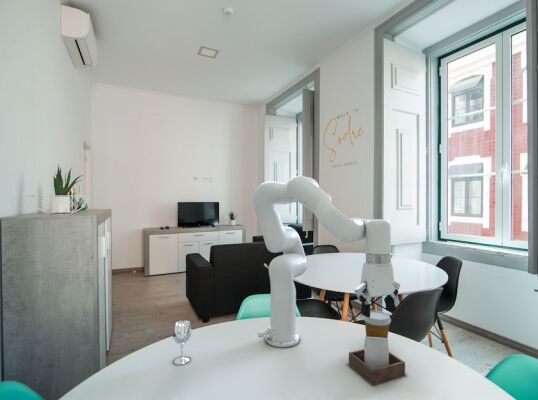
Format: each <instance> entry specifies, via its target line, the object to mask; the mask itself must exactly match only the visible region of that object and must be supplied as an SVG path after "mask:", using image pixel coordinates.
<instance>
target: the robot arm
mask: <svg viewBox="0 0 538 400" xmlns="http://www.w3.org/2000/svg"><path fill="white" fill-rule="evenodd" d="M293 203H299V204H301V205H302V206H303V207H305V208H306V209H307V210H308V211H310V212H311V213H312V214H313V215H314V216H315V217H316V219H317V221H318V222H319V223H320V225H321V226H322V227H323V228H324V229H325V230H326V231H327V232H329V233H331V235H333V236H334V237H335V238H337V239H338V240H339V241H342V242H344V243H355V242H358V241H363V240H365V262H363V264H362V269H361V276H360V285H358V286H357V287H356V288H355V289H354V293H355V295H356V298H357V299H358V300H359V302H360V303H361V316H366V317H368V318H369V317H370V311H371V304H370V302H371V300H372V299H373V298H377V297H384V296H386V297H385V310H386V311H387V312H389V313H392V314H394V313H395V300H396V299H397V295H398V294H399V290H400V288H401V284H400V283H399V282H397V281H396V280H395V275H394V267H393V263H392V261H391V260H392V258H393V254H392V250H391V249H392V248H391V247H392V224H391V222H390V220H388V219H384V218H370V219H369V218H363V217H348V216H347V215H345V214H344V213H343V212H341V211H340V209H338V208H337V207H335V205H333V203H332V196H331V195H330V194H329V193H327V192H326V191H324V189H321V188H320V186H319V183H318V181H317V180H316V179H314V178H312V177H309V176H304V175H295V176H293V177H291V178H290V179H289V180H288V182H279V181H265V182H262V183H260V184H259V185H258V186H256V188H255V191H254V193H253V197H252V204H253V209H254V212H255V214H256V216H257V219H258V223H259V226H260V230H261V234H262V237H263V240H264V244H265V247H266V249H267V250H268V252H270V253H275V254H277V253H283V254H281V255H278V256H276V257H274V258H273V259H271V261H270V263H269V266H268V276H269V282H270V283H269V284H270V313H269V314H270V315H269V326H267V329H265V330H260V331H257V334H256V335H257V338H263V340H265V342H267V344H269V345H270V346H274V347H277V348H289V347H293V346H295V345H296V344H298V343H299V342H300V334H298V333H297V332H296V316H297V313H296V311H297V289H296V285H295V282H294V279H295V278H298V277H300V276H302V275H303V274H305V273H306V272H307V268H308V259H307V257H306V253H305V250H304V247H303V244H302V243H303V242H302V240H301V237H300V234H299V233H298V231H297V230H296V229H295V228H293V227H291V226H284V224H283V221H282V218H281V214H280V213H279V211H278V209H276V207H275V205H276V204H277V205H285V204H286V205H288V204H293Z"/></svg>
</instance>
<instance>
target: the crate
mask: <svg viewBox="0 0 538 400" xmlns="http://www.w3.org/2000/svg"><path fill="white" fill-rule="evenodd" d="M348 367H350V368H352V369H353V371H355V372H356V373H357V374H359V375H360V376H361V377H362V378H364V379H365V380H366V381H367V382H369V383H370V384H371V385H372V386H375V385H378V384H382V383H385V382H387V381H391V380H394V379H399V378H401V377H404V376H406V361H404V360H403V359H401V358H400V357H398V356H397V355H394V353H392V352H390V351H389V365H388V366H384V367H380V368H377V369H374V370H373V369H372V368H371V367H370V366H368V365H367V364H366V363H364V348H362V349H359V350H353V351H350V352H348Z"/></svg>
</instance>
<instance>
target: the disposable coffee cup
mask: <svg viewBox="0 0 538 400" xmlns="http://www.w3.org/2000/svg"><path fill="white" fill-rule="evenodd" d="M362 316H363V317H362V318H363V321H364V327H365V337H377V338H388V337H389V330H390V324H391V322H392V319H391V316H390V314H388V313H387V312H384V311H381V310H370V317H369V318H368V317H366V316H364V315H362ZM388 339H389V338H388Z"/></svg>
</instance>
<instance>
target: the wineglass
mask: <svg viewBox="0 0 538 400" xmlns="http://www.w3.org/2000/svg"><path fill="white" fill-rule="evenodd" d="M172 329H173V330H172V340H173V342H174V343H175V344H177V345H179V348H180V357H177V358H175V359H174V361H173V363H174V364H175V365H178V366H179V365H185V364H187V363H188V362H189V361H190V358H189V357H187V356H184V355H183V354H184V353H183V352H184V346H185V345H184V344H187V343H188V342H190V340H191V338H192V333H193V329H192V323H191V321H189V320H179V321H176V322H175V323H174V326H173V328H172Z"/></svg>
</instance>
